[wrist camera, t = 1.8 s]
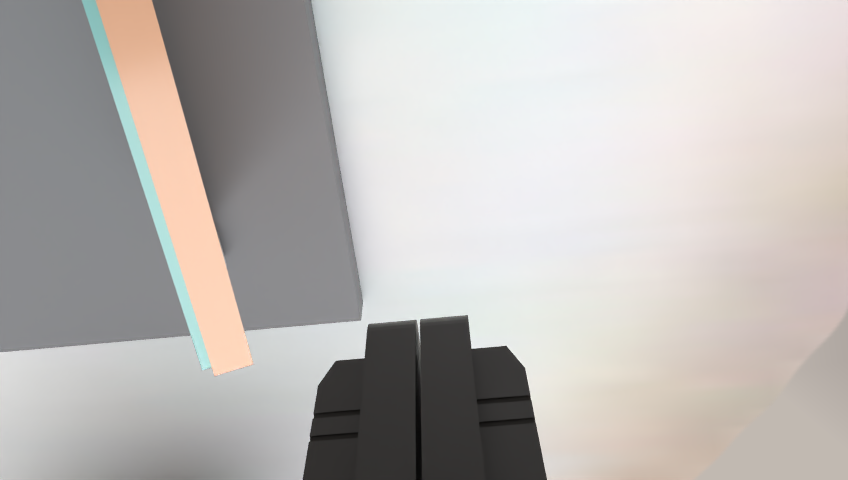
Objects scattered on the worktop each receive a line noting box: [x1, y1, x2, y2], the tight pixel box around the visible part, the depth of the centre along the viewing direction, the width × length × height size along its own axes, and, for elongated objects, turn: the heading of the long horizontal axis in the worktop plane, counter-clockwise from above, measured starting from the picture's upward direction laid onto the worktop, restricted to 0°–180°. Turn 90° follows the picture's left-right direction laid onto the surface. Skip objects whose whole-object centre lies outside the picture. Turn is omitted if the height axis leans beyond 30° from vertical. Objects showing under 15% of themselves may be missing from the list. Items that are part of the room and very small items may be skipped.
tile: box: [82, 0, 253, 376], centre depth 23 cm, size 14×10×2 cm
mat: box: [0, 0, 363, 352], centre depth 28 cm, size 26×18×3 cm
